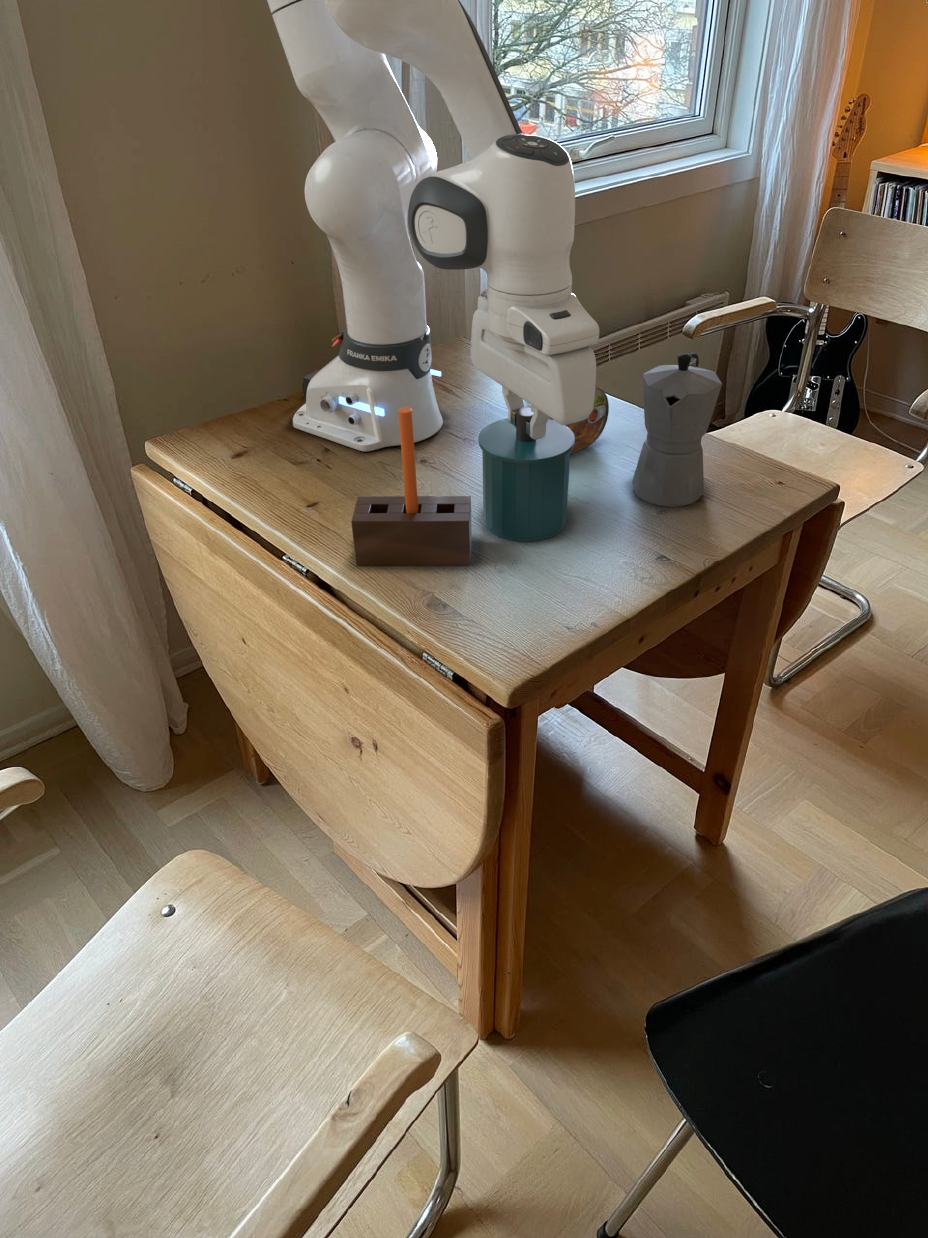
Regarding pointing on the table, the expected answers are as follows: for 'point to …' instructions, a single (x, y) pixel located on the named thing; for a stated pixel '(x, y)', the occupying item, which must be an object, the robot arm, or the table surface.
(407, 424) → the straw
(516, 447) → the can lid
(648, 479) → the coffeepot
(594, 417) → the tin
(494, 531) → the can
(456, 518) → the straw rack
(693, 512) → the table surface
